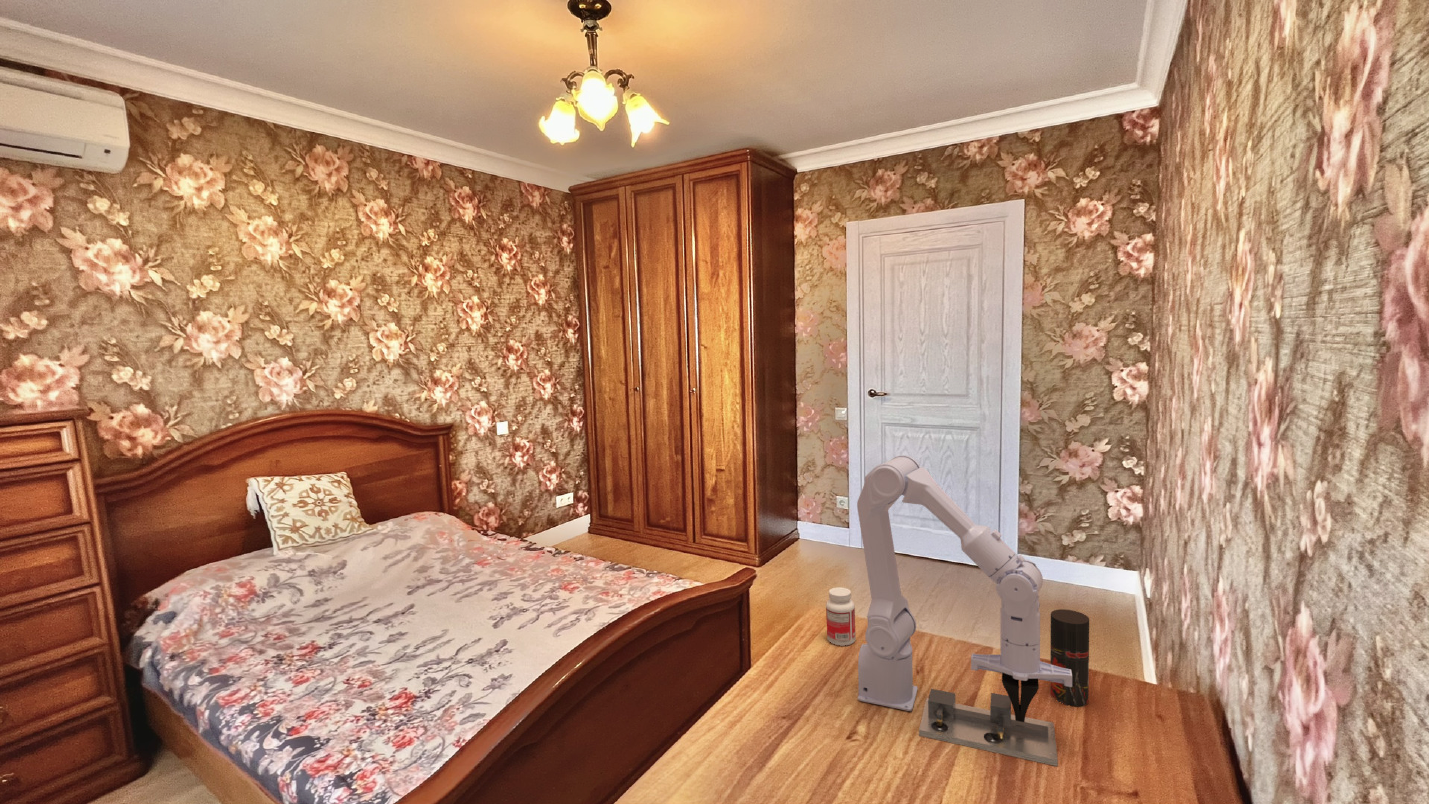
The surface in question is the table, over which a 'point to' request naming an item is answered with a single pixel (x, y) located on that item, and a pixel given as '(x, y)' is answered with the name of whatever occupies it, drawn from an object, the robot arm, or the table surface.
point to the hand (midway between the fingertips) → (1019, 718)
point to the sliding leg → (1000, 712)
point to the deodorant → (1070, 655)
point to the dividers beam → (972, 715)
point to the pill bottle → (840, 617)
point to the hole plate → (993, 737)
